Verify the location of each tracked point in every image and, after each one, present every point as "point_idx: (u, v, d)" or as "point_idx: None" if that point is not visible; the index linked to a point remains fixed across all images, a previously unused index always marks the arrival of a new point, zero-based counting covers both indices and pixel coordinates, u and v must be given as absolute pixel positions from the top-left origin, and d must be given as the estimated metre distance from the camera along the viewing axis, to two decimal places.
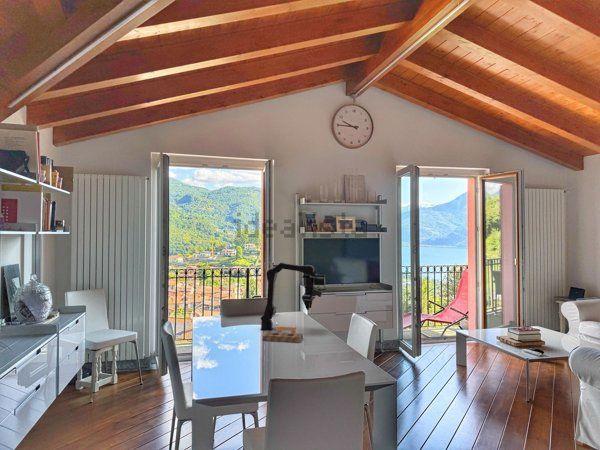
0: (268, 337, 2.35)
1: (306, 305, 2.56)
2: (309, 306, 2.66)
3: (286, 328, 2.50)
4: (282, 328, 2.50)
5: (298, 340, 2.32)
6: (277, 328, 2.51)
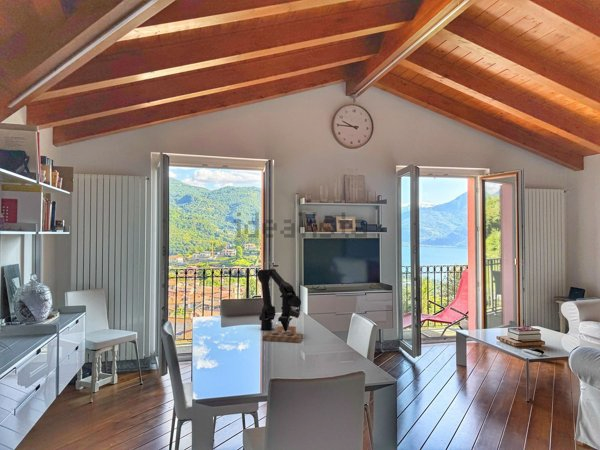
0: (268, 337, 2.35)
1: (284, 326, 2.49)
2: None
3: None
4: (282, 328, 2.50)
5: (298, 340, 2.32)
6: (277, 328, 2.51)
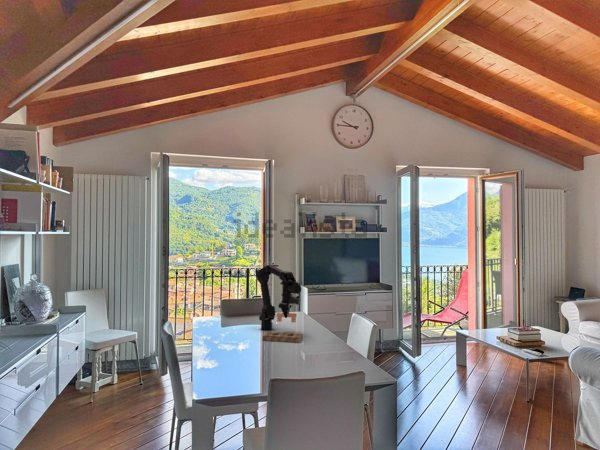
0: (268, 337, 2.35)
1: (284, 313, 2.49)
2: None
3: None
4: (282, 315, 2.51)
5: (298, 340, 2.32)
6: (277, 315, 2.51)
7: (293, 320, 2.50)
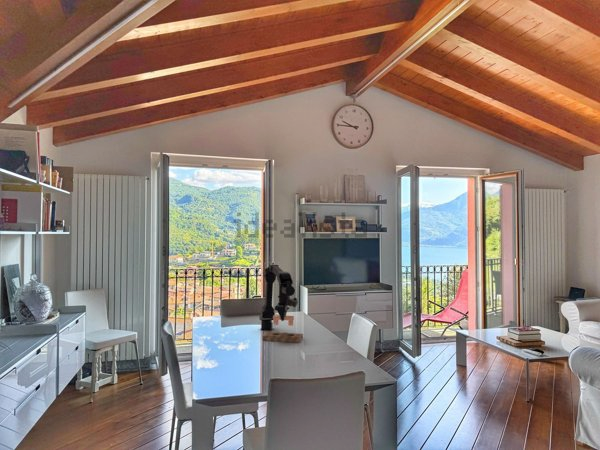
0: (268, 337, 2.35)
1: (281, 315, 2.37)
2: None
3: None
4: (279, 318, 2.38)
5: (298, 340, 2.32)
6: (274, 318, 2.39)
7: (290, 323, 2.37)
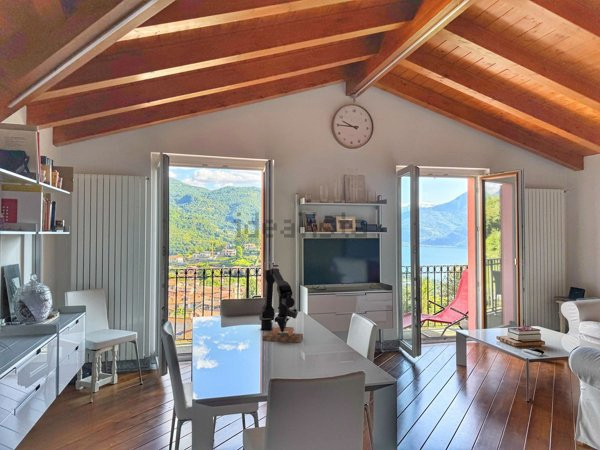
0: (268, 337, 2.35)
1: (280, 327, 2.36)
2: None
3: None
4: (279, 329, 2.38)
5: (298, 340, 2.32)
6: (273, 329, 2.38)
7: (290, 334, 2.37)
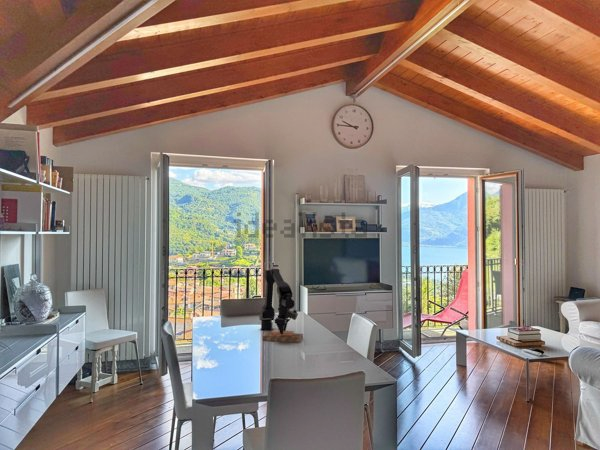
0: (268, 337, 2.35)
1: (280, 329, 2.34)
2: (283, 329, 2.42)
3: (283, 333, 2.37)
4: (279, 333, 2.38)
5: (298, 340, 2.32)
6: (273, 333, 2.38)
7: None
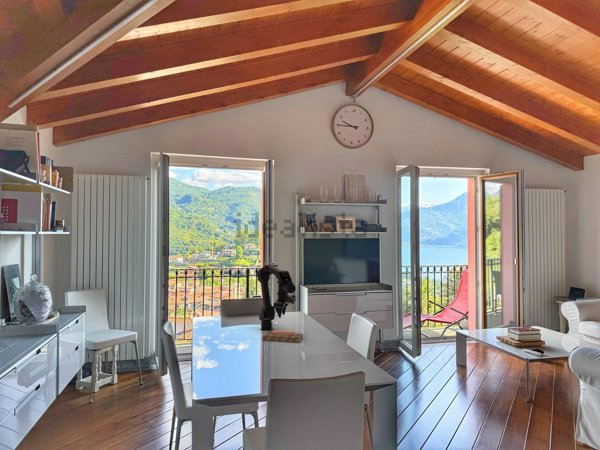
0: (268, 337, 2.35)
1: (278, 312, 2.46)
2: (282, 313, 2.55)
3: (283, 333, 2.37)
4: (279, 333, 2.38)
5: (298, 340, 2.32)
6: (273, 333, 2.38)
7: None
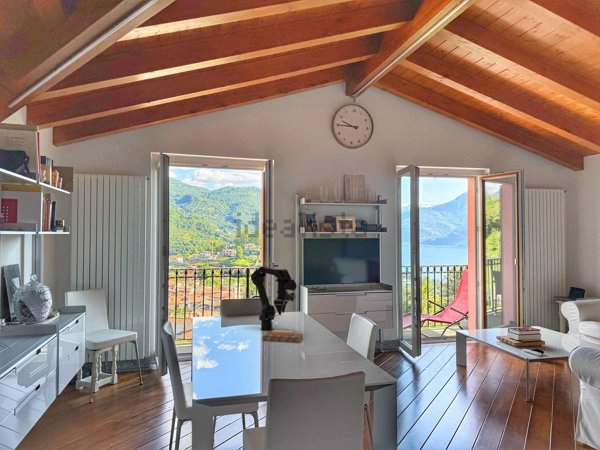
0: (268, 337, 2.35)
1: (278, 310, 2.51)
2: (282, 311, 2.61)
3: (283, 333, 2.37)
4: (279, 333, 2.38)
5: (298, 340, 2.32)
6: (273, 333, 2.38)
7: None
